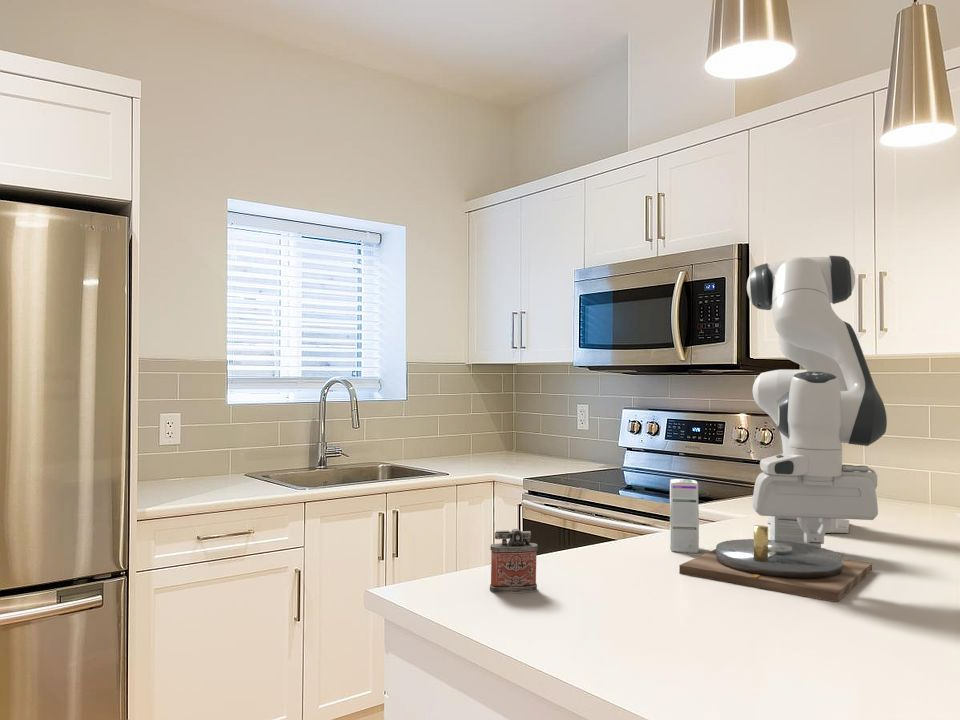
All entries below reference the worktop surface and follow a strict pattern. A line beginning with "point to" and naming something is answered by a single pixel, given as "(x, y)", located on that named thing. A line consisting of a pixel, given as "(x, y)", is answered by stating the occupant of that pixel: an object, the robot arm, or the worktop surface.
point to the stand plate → (781, 578)
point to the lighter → (513, 563)
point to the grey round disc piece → (778, 557)
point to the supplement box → (791, 529)
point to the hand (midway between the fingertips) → (813, 542)
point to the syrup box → (684, 516)
